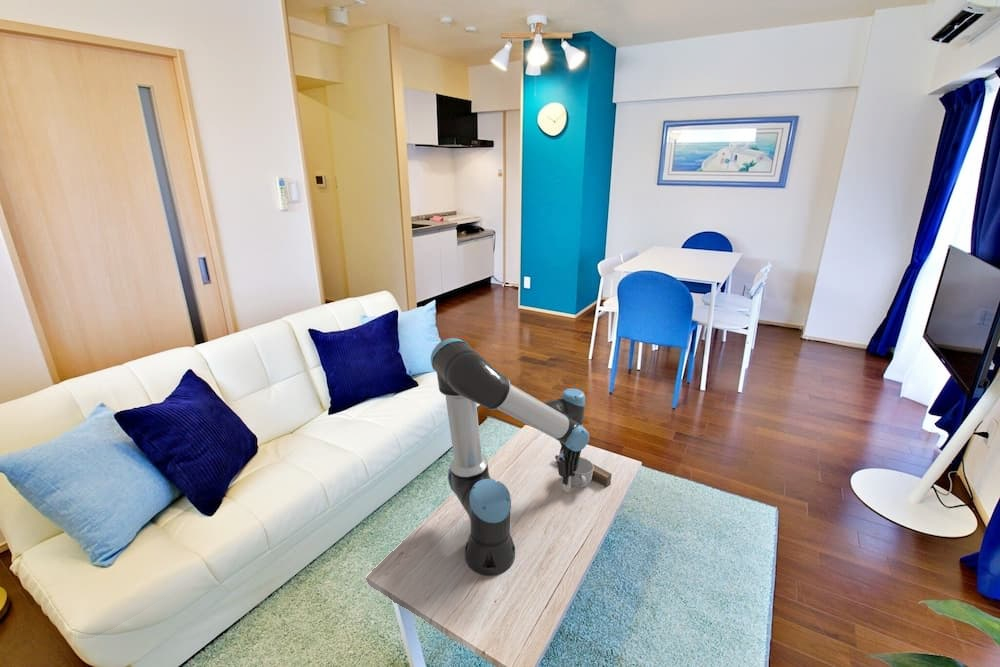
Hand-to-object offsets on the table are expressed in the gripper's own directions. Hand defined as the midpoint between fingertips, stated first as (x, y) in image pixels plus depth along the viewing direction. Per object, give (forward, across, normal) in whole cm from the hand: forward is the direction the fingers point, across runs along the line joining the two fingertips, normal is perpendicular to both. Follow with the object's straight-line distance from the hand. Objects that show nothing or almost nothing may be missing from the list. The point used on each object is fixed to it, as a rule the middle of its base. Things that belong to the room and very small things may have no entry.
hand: (566, 490), depth 167 cm
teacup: (+2, +7, 0) cm, 7 cm away
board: (+1, +15, +3) cm, 15 cm away
